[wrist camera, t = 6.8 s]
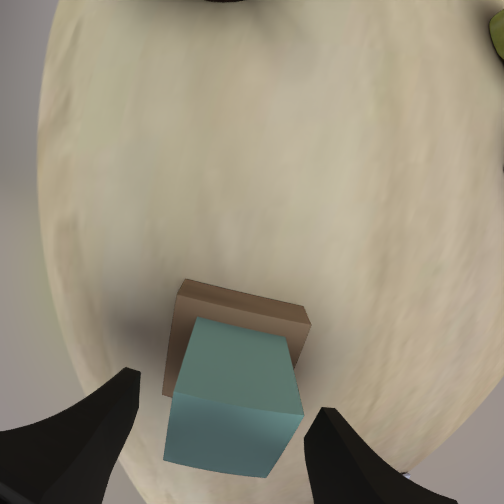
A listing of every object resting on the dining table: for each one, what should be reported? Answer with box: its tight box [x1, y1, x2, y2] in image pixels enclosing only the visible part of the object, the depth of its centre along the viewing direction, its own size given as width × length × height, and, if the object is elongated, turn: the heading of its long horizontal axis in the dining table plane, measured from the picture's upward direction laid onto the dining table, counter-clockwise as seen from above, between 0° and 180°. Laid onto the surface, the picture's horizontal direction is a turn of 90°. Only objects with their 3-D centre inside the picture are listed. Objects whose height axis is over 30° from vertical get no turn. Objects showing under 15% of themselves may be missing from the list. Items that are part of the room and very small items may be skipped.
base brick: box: [162, 279, 311, 398], centre depth 14 cm, size 6×6×2 cm
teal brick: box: [163, 317, 304, 478], centre depth 11 cm, size 4×4×5 cm
